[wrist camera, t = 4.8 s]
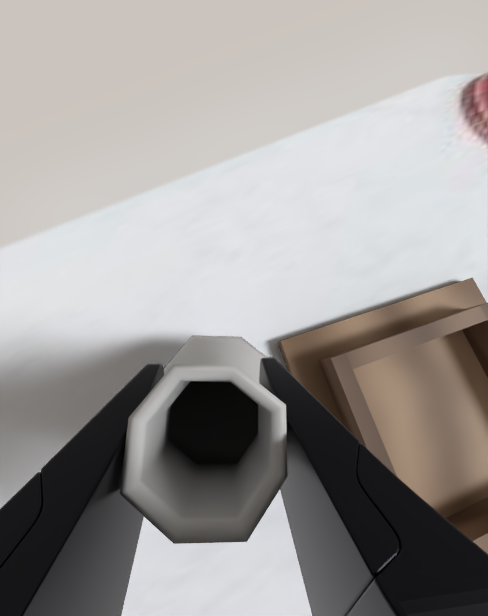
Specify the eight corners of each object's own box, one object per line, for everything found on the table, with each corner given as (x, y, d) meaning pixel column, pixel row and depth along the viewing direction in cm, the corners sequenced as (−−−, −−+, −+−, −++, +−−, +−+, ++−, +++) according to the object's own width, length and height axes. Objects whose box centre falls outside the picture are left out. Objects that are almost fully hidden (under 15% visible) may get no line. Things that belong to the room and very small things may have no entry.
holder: (374, 611, 15) (409, 664, 12) (278, 342, 18) (288, 336, 15) (583, 498, 17) (650, 521, 14) (463, 281, 21) (499, 267, 18)
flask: (259, 490, 14) (346, 786, 4) (130, 442, 14) (-99, 611, 4) (298, 358, 15) (422, 332, 6) (183, 316, 15) (115, 223, 6)
